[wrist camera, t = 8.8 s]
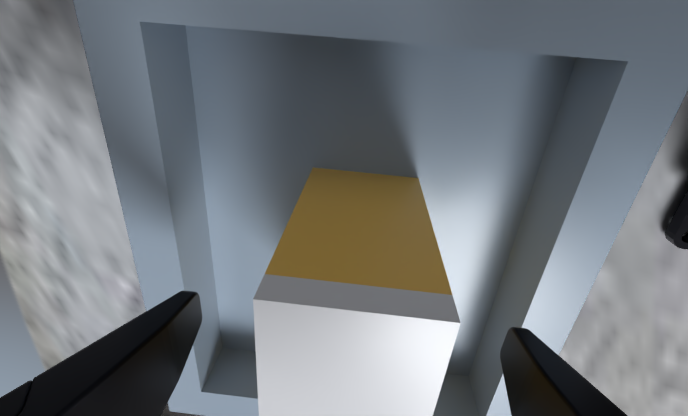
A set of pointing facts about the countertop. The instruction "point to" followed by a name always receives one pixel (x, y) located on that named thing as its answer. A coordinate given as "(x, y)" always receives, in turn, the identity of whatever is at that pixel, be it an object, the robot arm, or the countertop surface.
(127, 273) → the countertop surface
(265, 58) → the parts tray
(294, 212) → the yellow and white block
